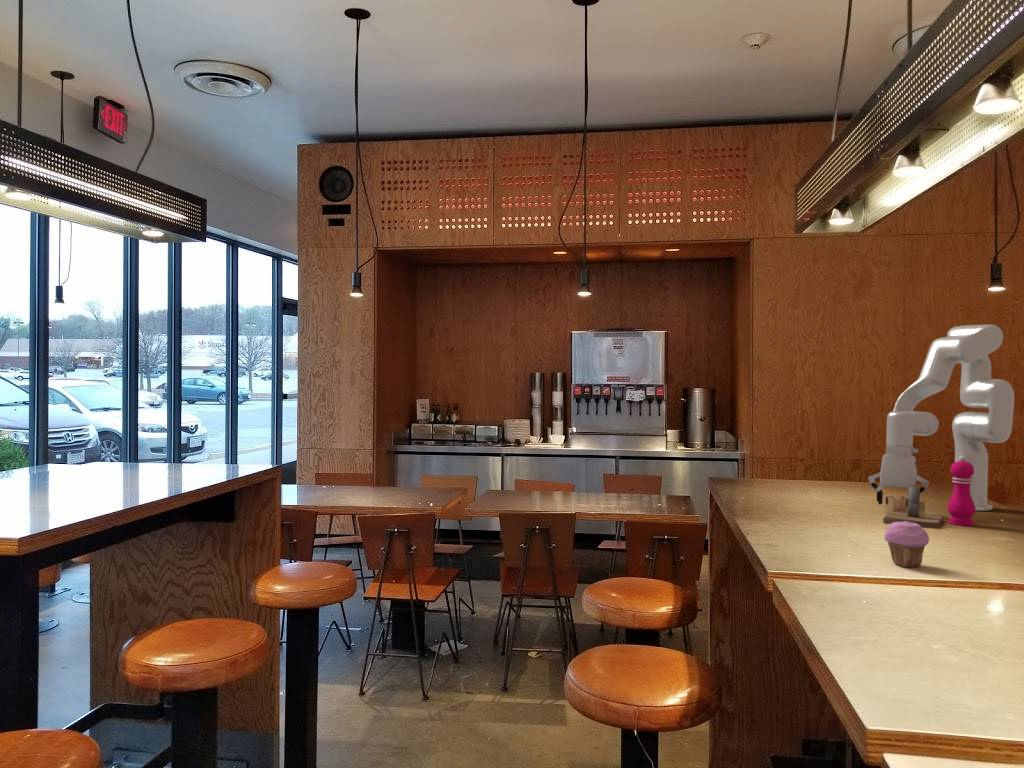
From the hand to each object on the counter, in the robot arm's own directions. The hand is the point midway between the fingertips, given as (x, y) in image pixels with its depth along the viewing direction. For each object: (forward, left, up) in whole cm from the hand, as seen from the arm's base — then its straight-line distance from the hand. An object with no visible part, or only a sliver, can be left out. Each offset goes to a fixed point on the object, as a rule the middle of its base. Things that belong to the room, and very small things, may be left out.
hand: (897, 505), depth 255 cm
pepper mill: (+9, +18, -3) cm, 21 cm away
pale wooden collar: (0, 0, -2) cm, 2 cm away
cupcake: (+78, +12, -3) cm, 79 cm away
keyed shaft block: (+14, +6, -2) cm, 15 cm away
